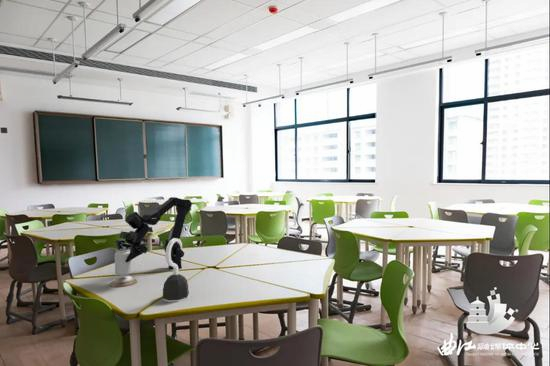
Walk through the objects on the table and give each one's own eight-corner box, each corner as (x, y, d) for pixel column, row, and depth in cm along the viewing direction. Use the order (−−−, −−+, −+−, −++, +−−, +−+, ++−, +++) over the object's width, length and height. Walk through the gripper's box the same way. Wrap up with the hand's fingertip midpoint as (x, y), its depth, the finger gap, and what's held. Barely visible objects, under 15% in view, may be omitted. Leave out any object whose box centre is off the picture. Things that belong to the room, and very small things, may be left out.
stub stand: (137, 278, 177) (137, 273, 177) (136, 285, 165) (135, 280, 165) (111, 281, 173) (111, 276, 173) (108, 288, 162) (107, 283, 162)
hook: (172, 292, 155) (170, 235, 154) (194, 294, 152) (193, 236, 151) (156, 300, 144) (155, 240, 144) (179, 303, 141) (178, 241, 140)
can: (112, 276, 165) (111, 251, 165) (118, 272, 173) (118, 248, 173) (129, 276, 166) (128, 250, 166) (134, 271, 173) (133, 247, 173)
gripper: (117, 223, 177) (97, 249, 168) (142, 225, 167) (122, 253, 158) (131, 236, 184) (113, 262, 175) (155, 239, 174) (137, 266, 165)
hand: (120, 261), depth 168 cm, fingers closed on can, 7 cm apart
